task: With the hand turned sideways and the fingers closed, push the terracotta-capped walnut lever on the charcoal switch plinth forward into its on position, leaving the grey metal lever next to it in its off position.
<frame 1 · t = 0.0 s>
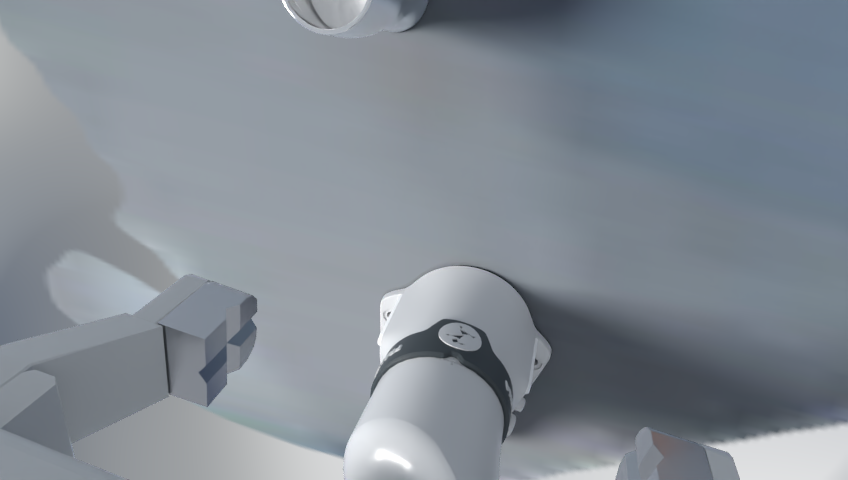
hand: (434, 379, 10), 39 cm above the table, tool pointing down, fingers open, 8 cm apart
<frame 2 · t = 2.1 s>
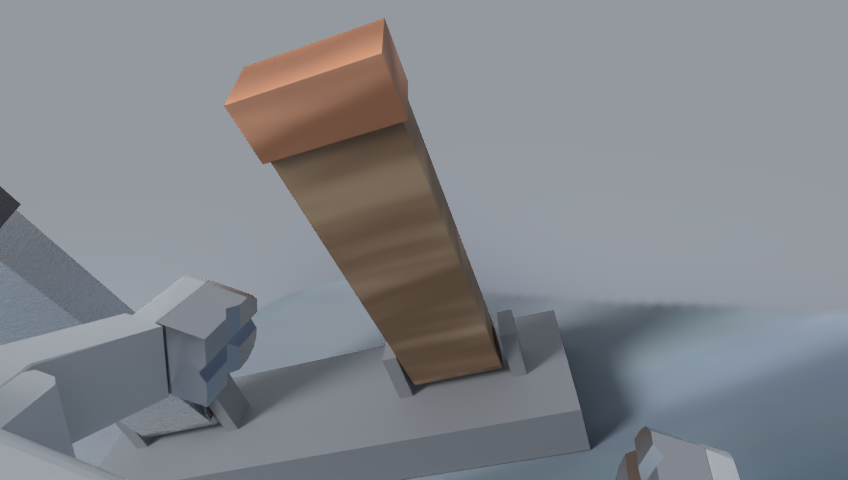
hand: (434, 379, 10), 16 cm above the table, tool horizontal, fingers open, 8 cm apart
plinth: (338, 434, 33), on the table
metal lever: (80, 335, 27), point 13 cm above the table, hinge at -15.0°
walnut lever: (404, 255, 23), point 13 cm above the table, hinge at -15.0°
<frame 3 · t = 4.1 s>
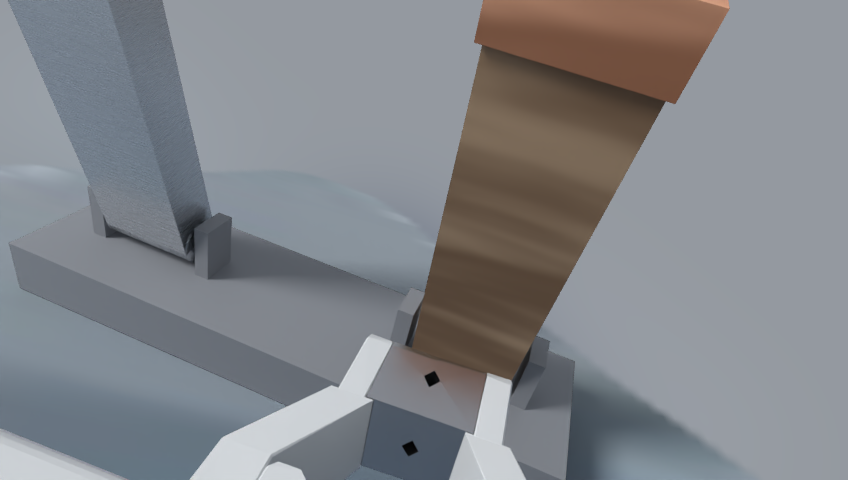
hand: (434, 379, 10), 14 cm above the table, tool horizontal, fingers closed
plinth: (298, 344, 29), on the table
metal lever: (115, 88, 22), point 13 cm above the table, hinge at -15.0°
walnut lever: (510, 231, 19), point 13 cm above the table, hinge at -15.0°
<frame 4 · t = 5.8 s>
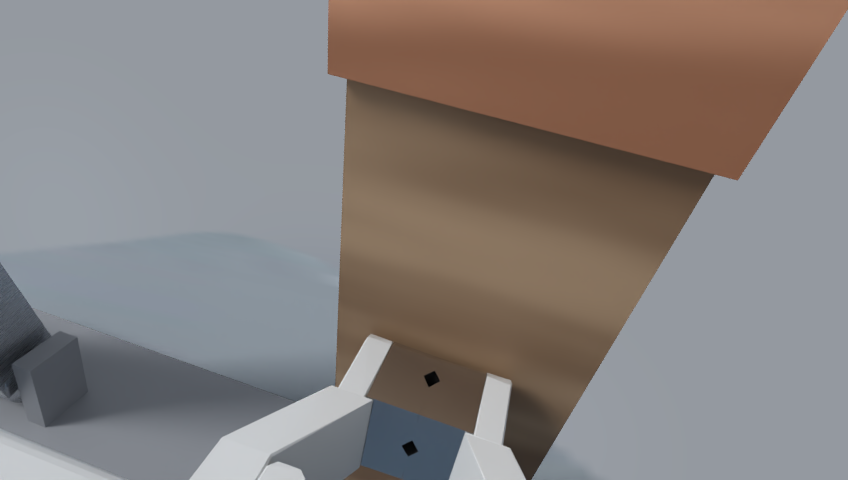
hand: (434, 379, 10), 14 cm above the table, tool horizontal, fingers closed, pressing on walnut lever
walnut lever: (451, 370, 12), point 13 cm above the table, hinge at -10.6°, touching gripper
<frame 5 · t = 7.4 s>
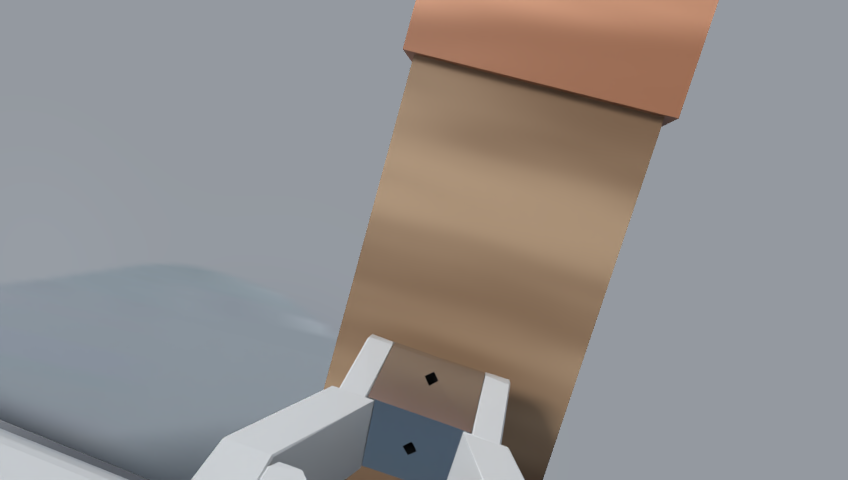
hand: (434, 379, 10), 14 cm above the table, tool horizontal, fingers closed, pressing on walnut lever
walnut lever: (440, 402, 12), point 12 cm above the table, hinge at 23.3°, touching gripper
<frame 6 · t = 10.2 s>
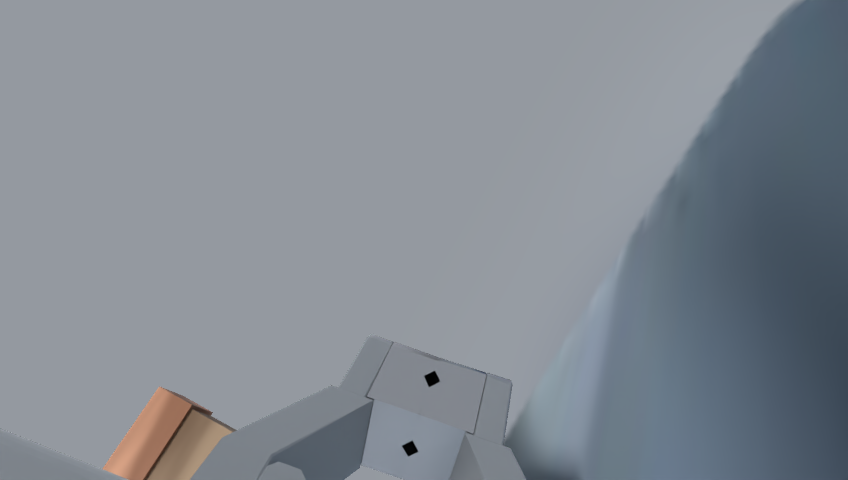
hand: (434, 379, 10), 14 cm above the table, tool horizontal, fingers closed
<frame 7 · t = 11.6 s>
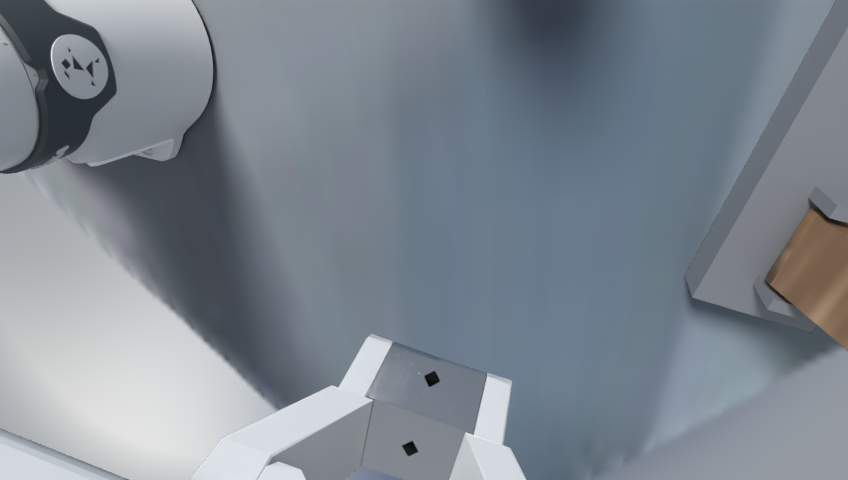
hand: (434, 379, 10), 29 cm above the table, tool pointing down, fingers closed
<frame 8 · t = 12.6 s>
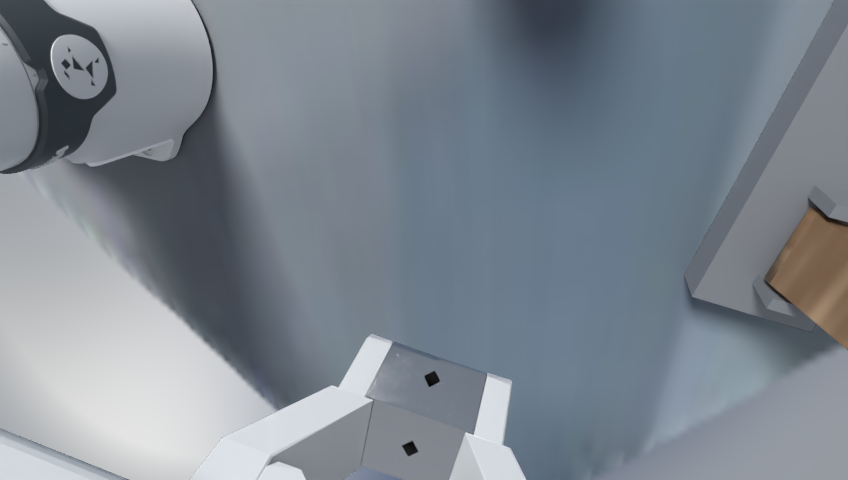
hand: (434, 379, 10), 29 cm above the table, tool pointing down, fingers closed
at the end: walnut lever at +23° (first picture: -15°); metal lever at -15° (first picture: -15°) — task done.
